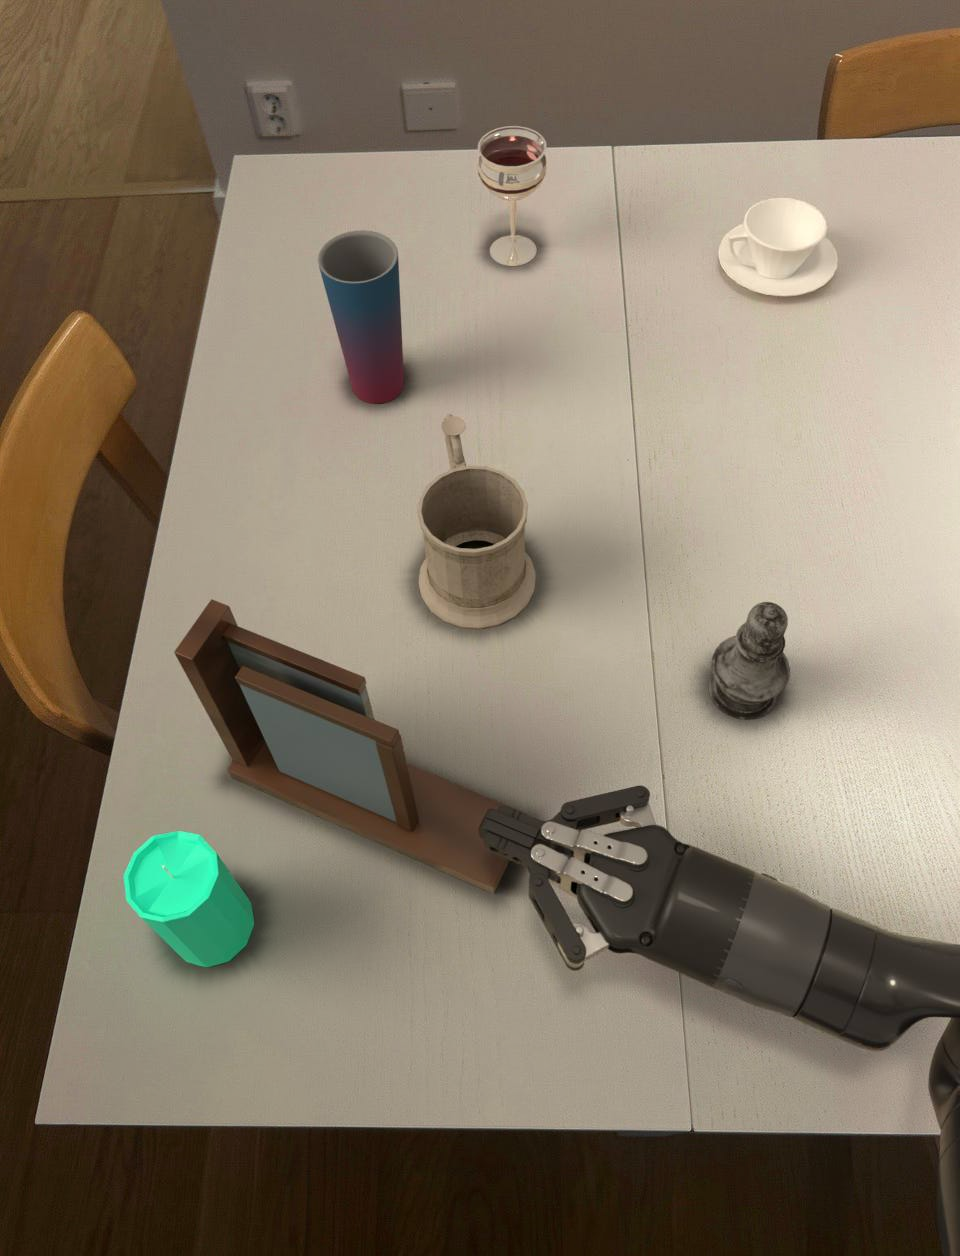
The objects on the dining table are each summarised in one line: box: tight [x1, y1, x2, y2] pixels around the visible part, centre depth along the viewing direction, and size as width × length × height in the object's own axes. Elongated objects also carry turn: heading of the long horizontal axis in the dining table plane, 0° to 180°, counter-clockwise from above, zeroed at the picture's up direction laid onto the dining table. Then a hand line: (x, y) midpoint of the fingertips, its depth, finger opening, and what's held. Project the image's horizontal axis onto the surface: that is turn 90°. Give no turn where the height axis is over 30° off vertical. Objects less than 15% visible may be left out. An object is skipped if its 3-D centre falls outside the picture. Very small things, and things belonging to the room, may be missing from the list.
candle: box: [123, 830, 255, 968], centre depth 70 cm, size 6×6×12 cm
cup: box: [317, 229, 405, 405], centre depth 96 cm, size 7×7×15 cm
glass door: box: [235, 666, 419, 831], centre depth 72 cm, size 1×11×14 cm, turn 65°
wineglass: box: [477, 125, 548, 267], centre depth 107 cm, size 7×7×12 cm
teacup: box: [717, 197, 839, 298], centre depth 107 cm, size 12×12×5 cm
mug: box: [416, 413, 537, 630], centre depth 86 cm, size 14×10×12 cm
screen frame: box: [173, 598, 527, 895], centre depth 72 cm, size 6×22×18 cm, turn 65°
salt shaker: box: [708, 601, 791, 720], centre depth 78 cm, size 6×6×12 cm
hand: (483, 822), depth 70 cm, fingers closed
